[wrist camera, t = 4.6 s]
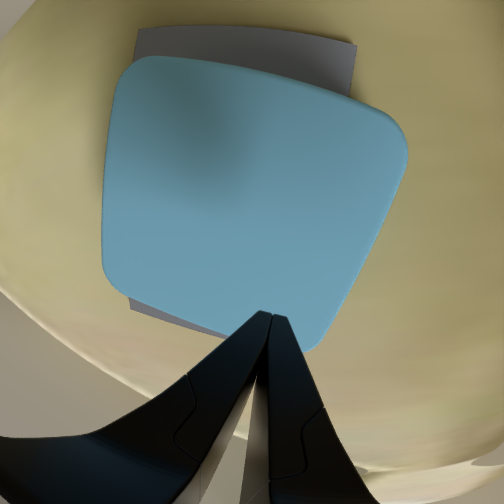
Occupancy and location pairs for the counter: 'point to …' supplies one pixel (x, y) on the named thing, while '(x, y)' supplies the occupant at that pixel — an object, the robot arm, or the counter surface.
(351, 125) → the light blue flat block
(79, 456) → the robot arm
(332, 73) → the mat
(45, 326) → the counter surface
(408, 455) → the counter surface
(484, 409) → the counter surface
